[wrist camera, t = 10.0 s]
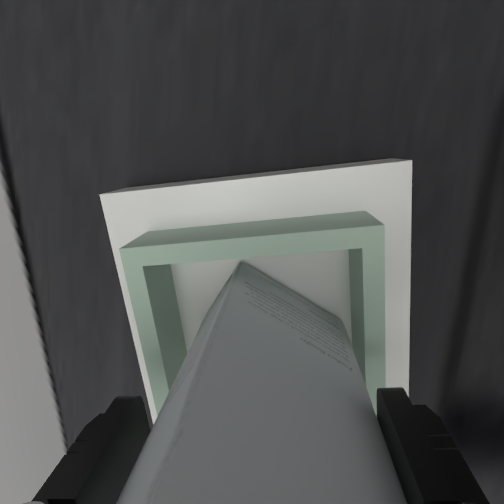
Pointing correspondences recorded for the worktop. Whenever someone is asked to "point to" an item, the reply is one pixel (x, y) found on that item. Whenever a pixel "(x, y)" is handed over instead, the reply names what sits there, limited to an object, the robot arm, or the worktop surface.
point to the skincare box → (266, 411)
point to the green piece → (244, 246)
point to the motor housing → (278, 266)
